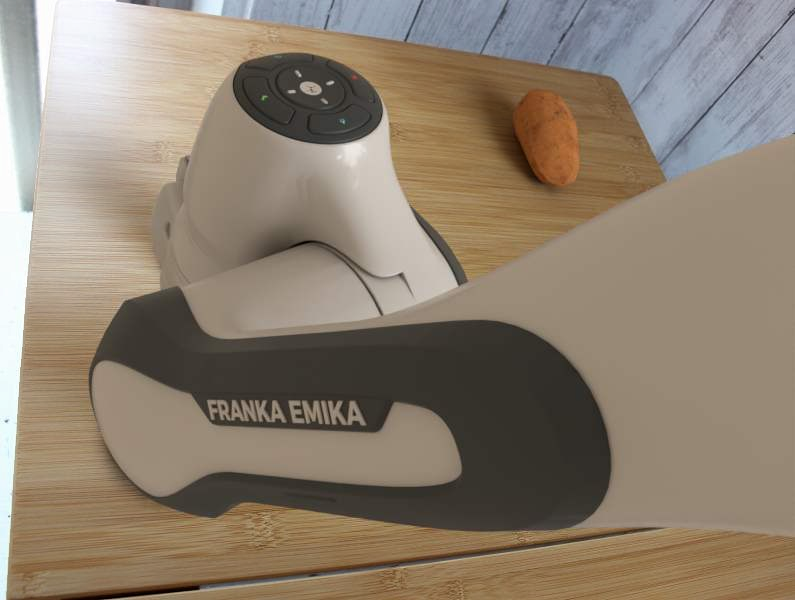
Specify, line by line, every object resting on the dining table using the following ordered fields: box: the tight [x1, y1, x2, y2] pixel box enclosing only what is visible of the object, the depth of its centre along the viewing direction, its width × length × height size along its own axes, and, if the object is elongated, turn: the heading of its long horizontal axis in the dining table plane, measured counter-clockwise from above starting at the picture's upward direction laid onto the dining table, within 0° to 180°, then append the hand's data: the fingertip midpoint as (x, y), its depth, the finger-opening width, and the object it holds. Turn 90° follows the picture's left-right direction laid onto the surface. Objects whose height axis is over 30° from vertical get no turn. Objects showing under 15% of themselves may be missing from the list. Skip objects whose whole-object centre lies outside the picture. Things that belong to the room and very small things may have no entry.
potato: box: [512, 88, 581, 188], centre depth 104 cm, size 7×13×7 cm, turn 16°
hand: (199, 374), depth 61 cm, fingers open, 7 cm apart
